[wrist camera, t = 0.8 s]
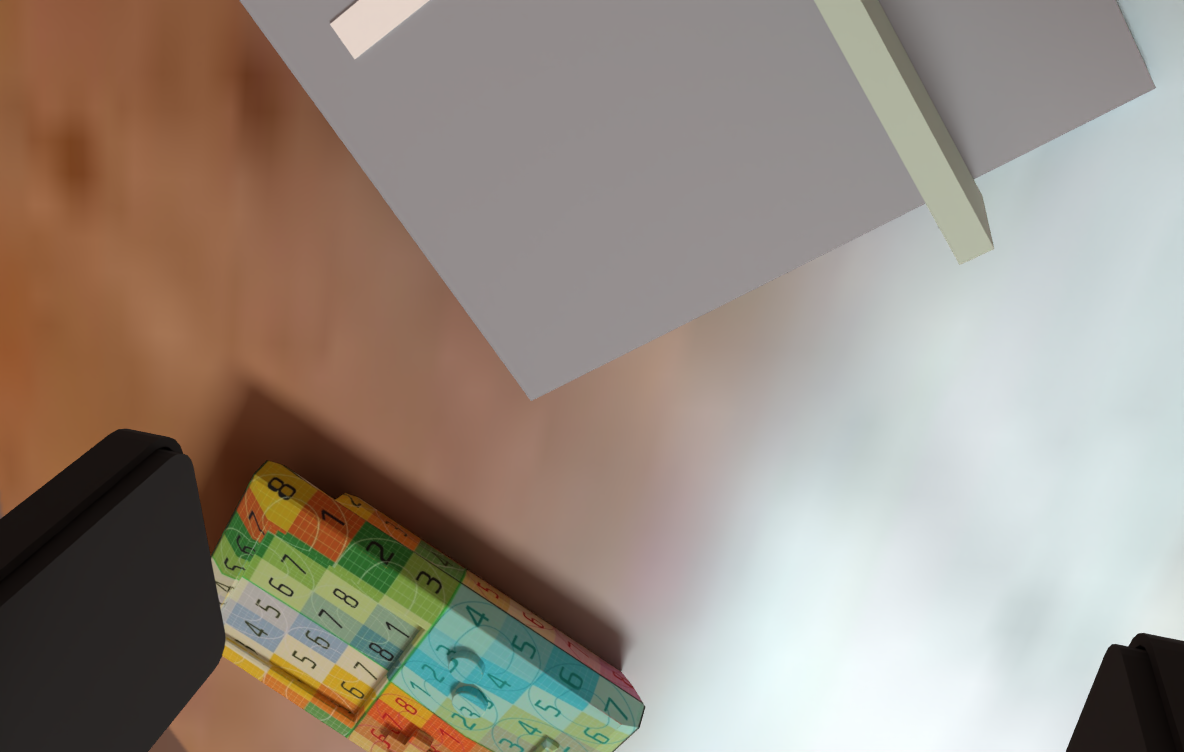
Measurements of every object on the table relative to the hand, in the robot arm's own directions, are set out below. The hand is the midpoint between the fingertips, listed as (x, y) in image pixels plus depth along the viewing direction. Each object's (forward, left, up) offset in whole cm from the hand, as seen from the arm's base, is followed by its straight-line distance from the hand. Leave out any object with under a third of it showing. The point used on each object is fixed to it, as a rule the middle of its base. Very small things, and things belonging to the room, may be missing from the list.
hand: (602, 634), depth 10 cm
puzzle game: (+28, +14, -27) cm, 41 cm away
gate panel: (-3, -1, -25) cm, 25 cm away
